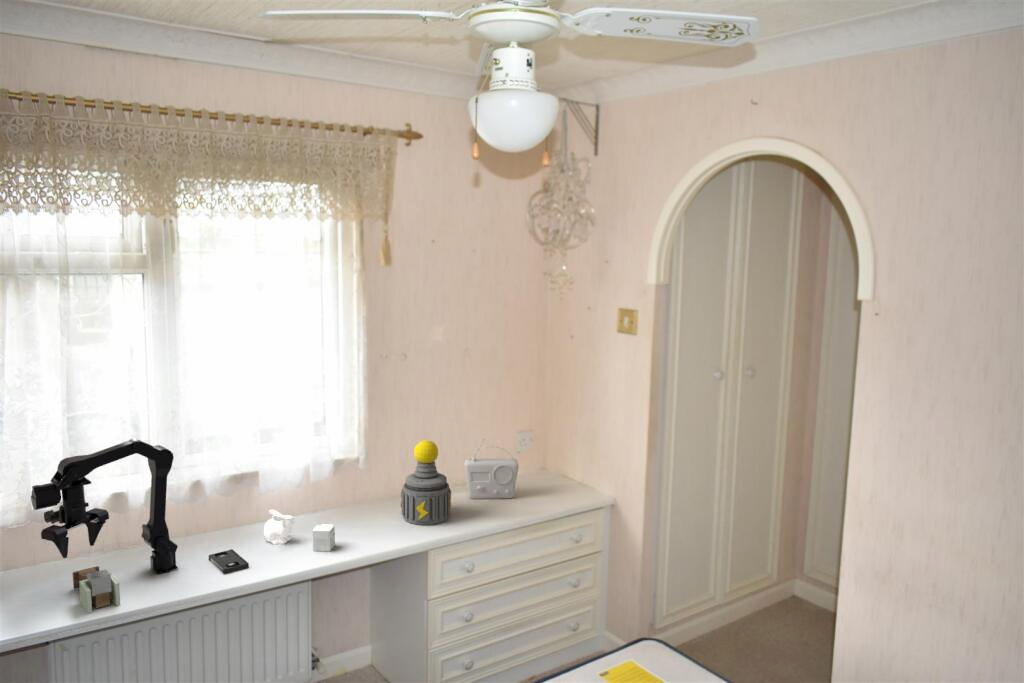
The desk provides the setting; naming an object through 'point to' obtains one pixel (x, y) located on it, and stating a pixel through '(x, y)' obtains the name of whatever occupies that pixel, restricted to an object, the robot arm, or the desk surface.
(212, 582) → the desk surface
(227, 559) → the vhs tape
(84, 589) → the cradle
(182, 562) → the desk surface
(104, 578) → the block
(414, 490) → the decorative lamp
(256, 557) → the desk surface
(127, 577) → the desk surface
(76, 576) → the brown wooden stepped block
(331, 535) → the skincare box
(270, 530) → the rabbit
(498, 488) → the radio
